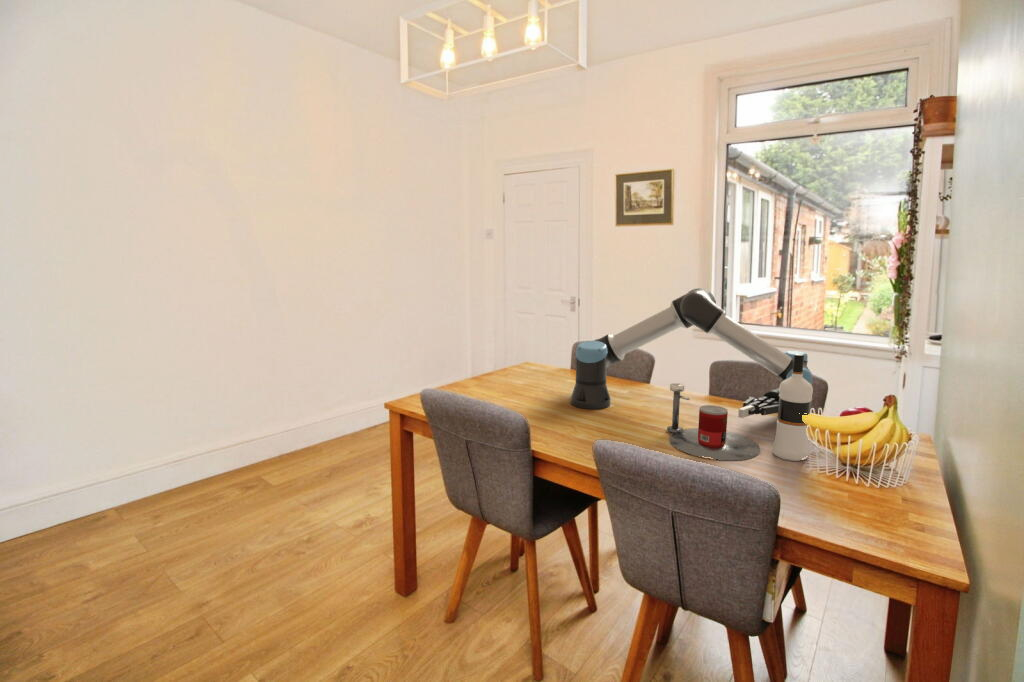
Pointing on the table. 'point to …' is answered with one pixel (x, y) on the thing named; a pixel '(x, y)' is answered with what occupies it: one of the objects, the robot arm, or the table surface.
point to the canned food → (712, 426)
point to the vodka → (793, 414)
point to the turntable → (731, 451)
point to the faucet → (676, 407)
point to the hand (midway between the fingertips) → (740, 413)
